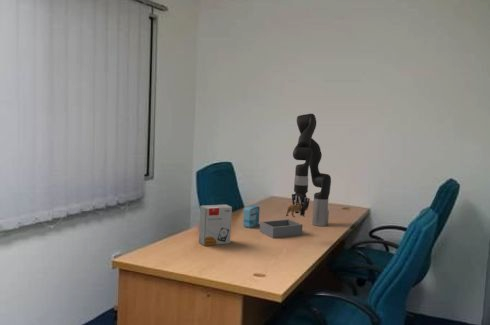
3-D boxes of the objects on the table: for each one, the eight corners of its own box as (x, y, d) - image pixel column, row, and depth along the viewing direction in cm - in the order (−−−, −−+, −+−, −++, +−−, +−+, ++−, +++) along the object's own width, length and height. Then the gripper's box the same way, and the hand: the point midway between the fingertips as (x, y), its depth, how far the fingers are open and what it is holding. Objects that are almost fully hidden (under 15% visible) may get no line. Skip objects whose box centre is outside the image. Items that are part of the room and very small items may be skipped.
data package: (249, 228, 280) (250, 209, 279) (242, 227, 283) (243, 208, 281) (258, 224, 291) (259, 206, 289) (252, 223, 293) (253, 205, 292)
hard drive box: (203, 246, 240) (205, 208, 238) (198, 242, 247) (199, 205, 244) (230, 243, 247) (232, 206, 245) (224, 239, 254) (226, 203, 252)
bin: (288, 228, 284) (288, 219, 283) (302, 234, 271) (302, 224, 271) (259, 231, 274) (260, 221, 273) (272, 238, 261) (273, 227, 260)
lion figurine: (305, 214, 261) (305, 198, 260) (310, 216, 257) (311, 200, 256) (283, 216, 254) (283, 200, 254) (288, 218, 250) (289, 201, 249)
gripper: (314, 185, 250) (313, 216, 252) (299, 181, 262) (297, 210, 264) (303, 186, 246) (301, 217, 248) (288, 182, 258) (286, 211, 260)
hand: (299, 214), depth 256 cm, fingers closed on lion figurine, 4 cm apart
